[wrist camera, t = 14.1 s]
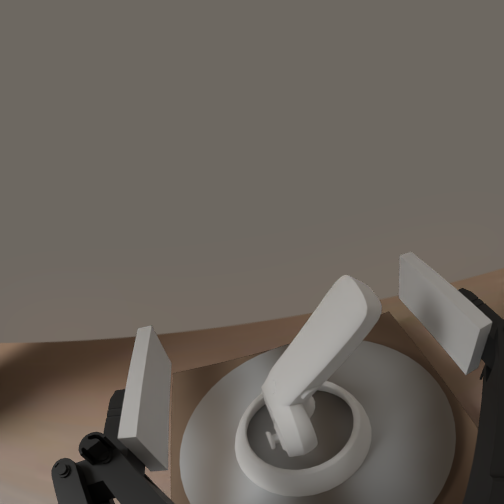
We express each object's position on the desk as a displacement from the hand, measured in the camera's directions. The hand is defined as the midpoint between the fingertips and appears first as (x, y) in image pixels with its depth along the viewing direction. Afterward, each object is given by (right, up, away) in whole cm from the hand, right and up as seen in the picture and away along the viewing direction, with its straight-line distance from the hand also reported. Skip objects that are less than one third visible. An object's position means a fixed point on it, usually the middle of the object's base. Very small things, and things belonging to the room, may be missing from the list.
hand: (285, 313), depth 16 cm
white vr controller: (+1, -7, 0) cm, 8 cm away
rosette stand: (+3, -10, +1) cm, 10 cm away
